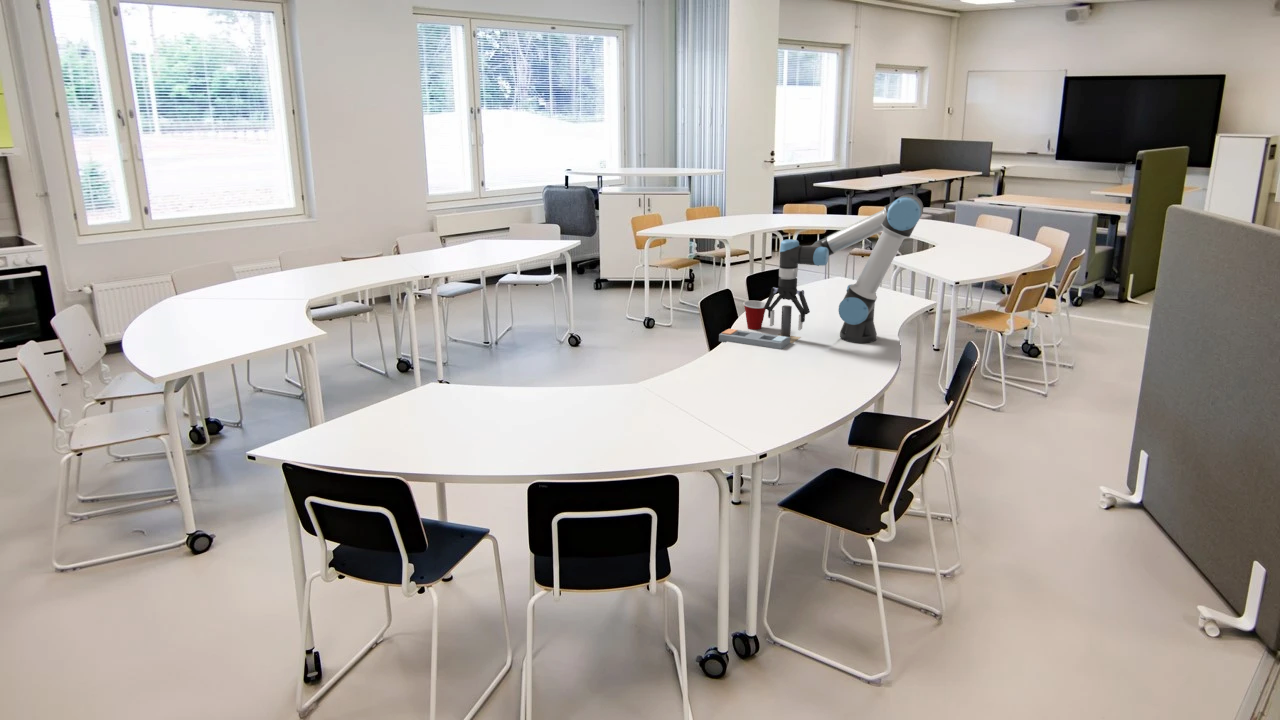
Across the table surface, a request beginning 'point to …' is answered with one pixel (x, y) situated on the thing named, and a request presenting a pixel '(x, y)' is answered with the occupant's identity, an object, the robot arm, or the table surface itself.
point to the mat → (792, 338)
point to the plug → (786, 321)
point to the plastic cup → (754, 314)
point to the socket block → (754, 338)
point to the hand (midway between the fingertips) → (785, 327)
